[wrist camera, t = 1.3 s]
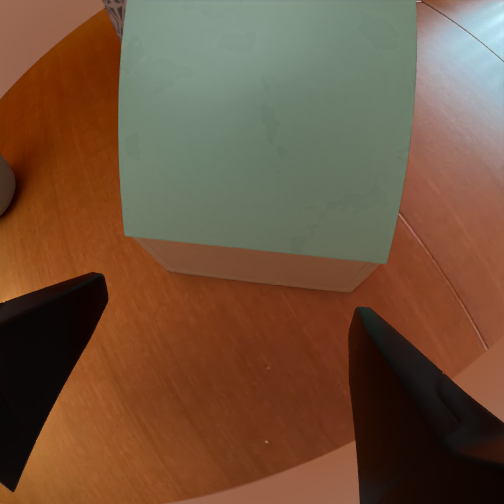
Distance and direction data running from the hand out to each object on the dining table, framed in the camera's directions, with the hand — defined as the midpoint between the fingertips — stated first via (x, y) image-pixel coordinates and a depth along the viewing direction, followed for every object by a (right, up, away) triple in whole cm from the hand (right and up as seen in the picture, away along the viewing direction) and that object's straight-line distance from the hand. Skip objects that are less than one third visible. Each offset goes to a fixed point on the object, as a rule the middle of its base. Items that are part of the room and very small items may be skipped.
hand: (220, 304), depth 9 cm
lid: (+1, +8, +4) cm, 9 cm away
